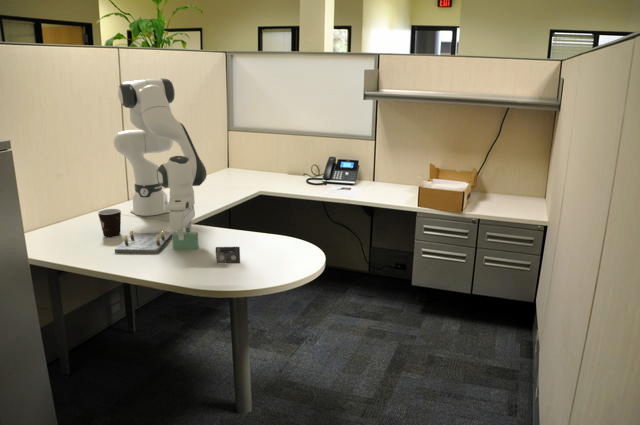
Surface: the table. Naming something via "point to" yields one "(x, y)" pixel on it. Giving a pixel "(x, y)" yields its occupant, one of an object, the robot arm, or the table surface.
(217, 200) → the table surface
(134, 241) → the chassis plate
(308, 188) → the table surface
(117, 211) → the coffee mug
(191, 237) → the green block
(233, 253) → the mini dv tape
